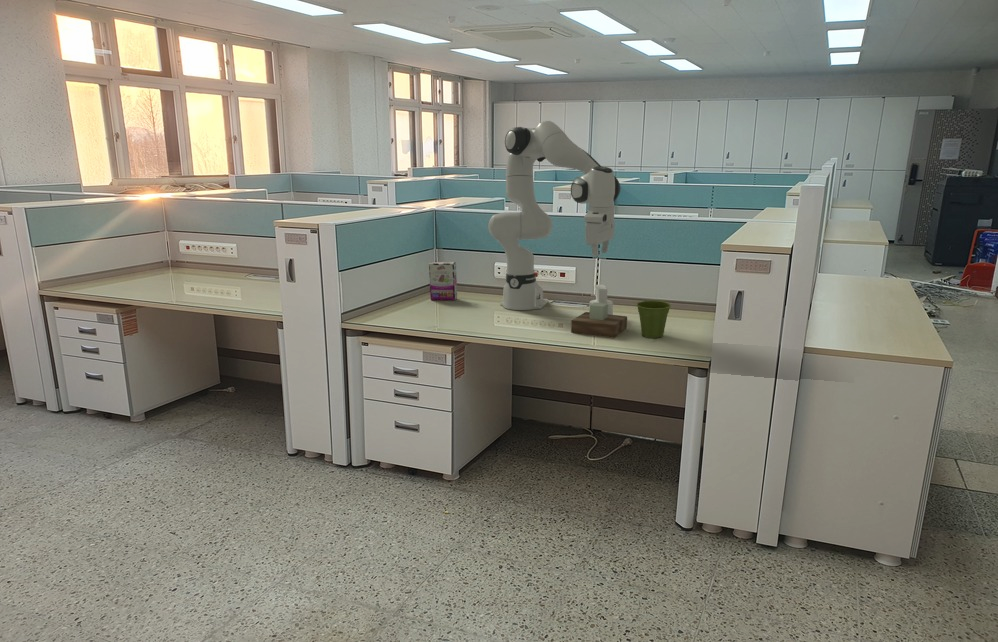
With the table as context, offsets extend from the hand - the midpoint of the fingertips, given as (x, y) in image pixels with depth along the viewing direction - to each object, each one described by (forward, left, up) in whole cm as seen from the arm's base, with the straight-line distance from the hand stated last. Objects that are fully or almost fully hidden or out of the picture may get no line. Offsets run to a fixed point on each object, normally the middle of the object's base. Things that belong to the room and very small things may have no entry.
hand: (600, 254), depth 235 cm
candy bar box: (-21, -78, -28) cm, 86 cm away
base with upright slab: (-19, -5, -28) cm, 34 cm away
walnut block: (+1, +1, -28) cm, 28 cm away
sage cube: (0, 0, -23) cm, 23 cm away
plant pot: (-1, +20, -28) cm, 34 cm away
